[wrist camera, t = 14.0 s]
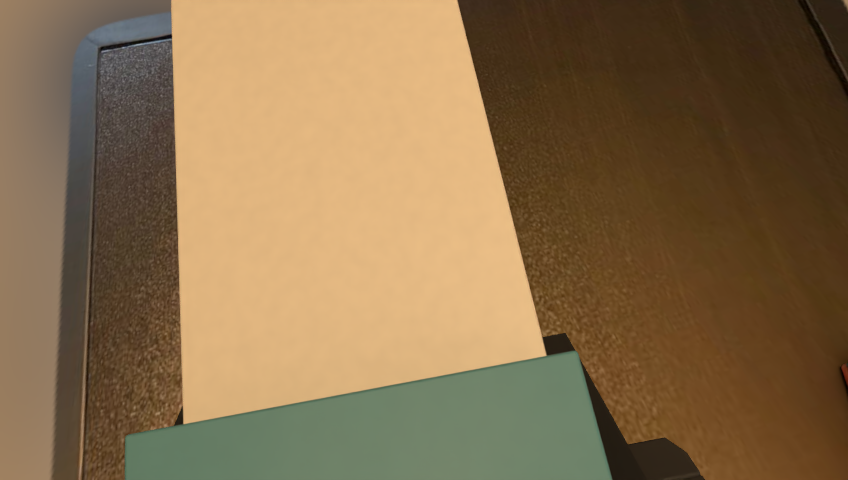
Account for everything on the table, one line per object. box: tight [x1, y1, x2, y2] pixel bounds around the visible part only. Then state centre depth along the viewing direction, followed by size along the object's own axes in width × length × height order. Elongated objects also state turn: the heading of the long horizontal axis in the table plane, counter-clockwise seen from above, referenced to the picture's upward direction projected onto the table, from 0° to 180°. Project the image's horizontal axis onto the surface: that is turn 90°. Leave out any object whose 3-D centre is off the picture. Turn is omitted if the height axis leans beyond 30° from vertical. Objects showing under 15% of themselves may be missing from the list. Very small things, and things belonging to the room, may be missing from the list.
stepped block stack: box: [125, 0, 612, 480], centre depth 17 cm, size 24×8×9 cm, turn 10°
